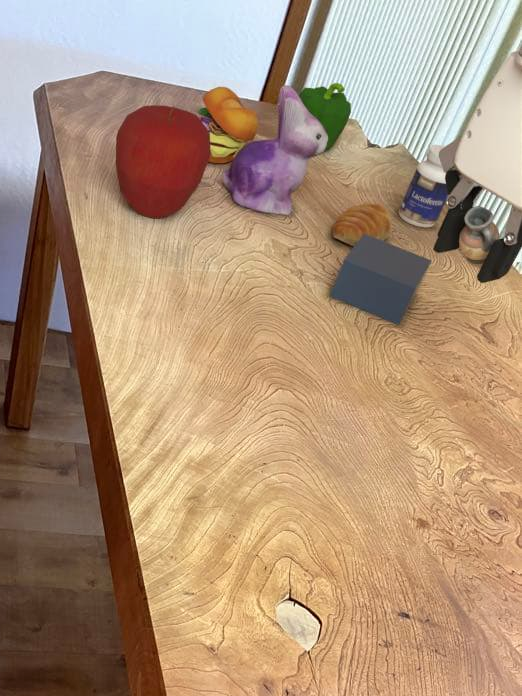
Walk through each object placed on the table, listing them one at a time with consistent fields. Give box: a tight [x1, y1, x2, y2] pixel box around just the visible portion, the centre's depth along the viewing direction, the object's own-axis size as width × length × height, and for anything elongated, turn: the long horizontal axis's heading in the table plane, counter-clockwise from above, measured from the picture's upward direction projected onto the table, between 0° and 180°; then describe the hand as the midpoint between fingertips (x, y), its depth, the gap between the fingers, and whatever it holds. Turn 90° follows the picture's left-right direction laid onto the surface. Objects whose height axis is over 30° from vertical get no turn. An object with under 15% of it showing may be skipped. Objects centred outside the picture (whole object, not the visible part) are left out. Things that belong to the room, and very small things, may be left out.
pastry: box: [331, 201, 393, 247], centre depth 121 cm, size 9×7×4 cm
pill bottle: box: [398, 144, 449, 229], centre depth 128 cm, size 6×6×10 cm
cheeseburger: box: [191, 86, 259, 164], centre depth 132 cm, size 10×11×10 cm
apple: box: [115, 104, 211, 219], centre depth 112 cm, size 12×12×13 cm
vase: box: [458, 205, 505, 279], centre depth 81 cm, size 5×5×6 cm
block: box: [329, 234, 433, 325], centre depth 110 cm, size 9×9×5 cm
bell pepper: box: [298, 82, 352, 152], centre depth 141 cm, size 8×8×10 cm
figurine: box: [221, 84, 328, 216], centre depth 120 cm, size 9×10×15 cm
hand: (467, 262), depth 83 cm, fingers closed on vase, 4 cm apart
